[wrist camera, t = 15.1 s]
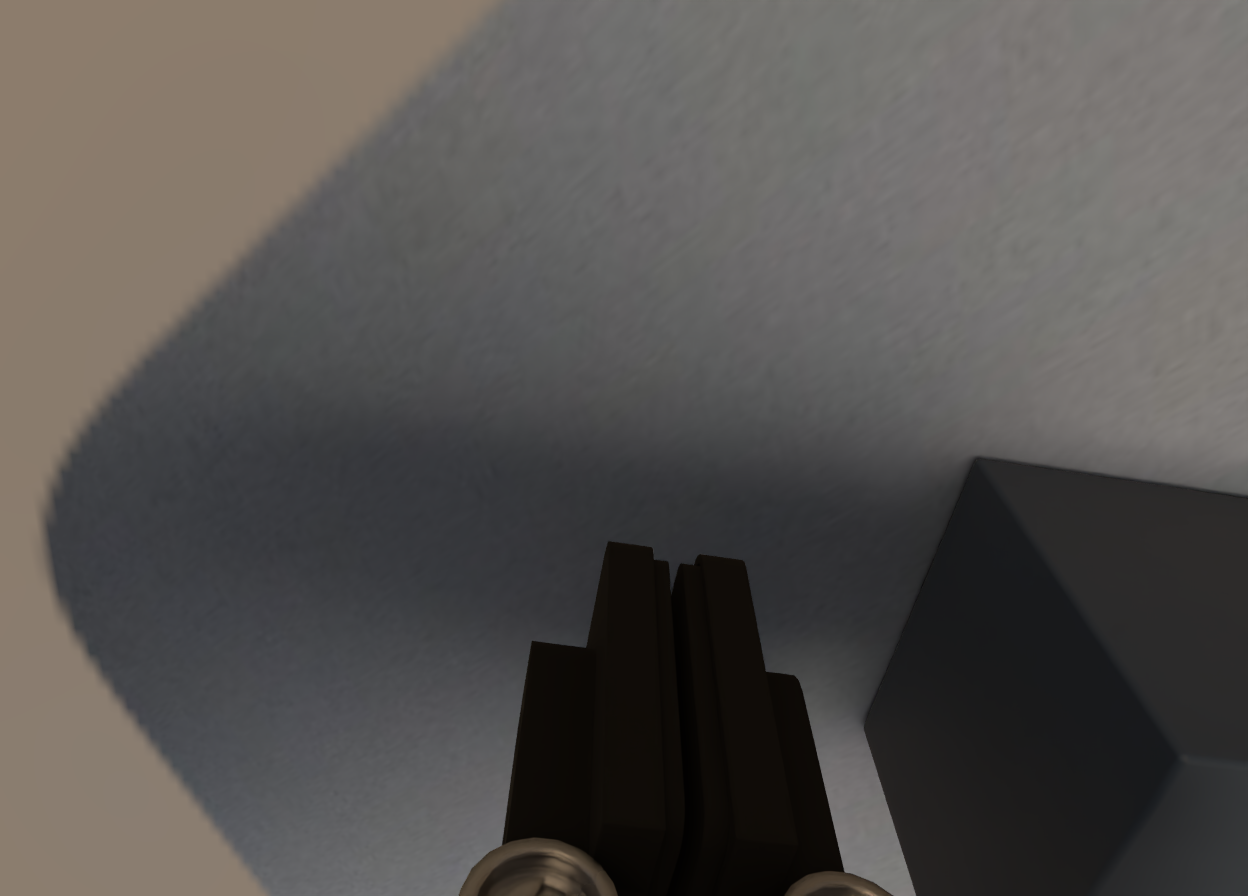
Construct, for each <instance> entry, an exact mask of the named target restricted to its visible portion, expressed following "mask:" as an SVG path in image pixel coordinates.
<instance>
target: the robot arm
mask: <svg viewBox="0 0 1248 896" xmlns="http://www.w3.org/2000/svg"><path fill="white" fill-rule="evenodd" d="M459 896H893V895H891V894H890V893H888V892H887V891H885V890H884V889H883V888H881V887H880V886H878V885H877V884H875V883H874V882H871V881H869V880H866V879H864V878H861V877H859V876H856V875H853V874H851V873H845V872H844V868H843V864H842V860H841V855H840V851H839V847H838V842H837V838H836V834H835V829H834V825H833V821H832V816H831V812H830V808H829V803H828V799H827V795H826V791H825V786H824V782H823V778H822V773H821V769H820V765H819V760H818V756H817V752H816V747H815V743H814V739H813V734H812V730H811V726H810V721H809V717H808V713H807V709H806V704H805V700H804V696H803V691H802V688H801V685H800V682H799V680H798V679H797V678H796V677H795V676H794V675H787V674H780V673H772V672H766V670H765V664H764V659H763V654H762V648H761V643H760V638H759V633H758V627H757V622H756V617H755V611H754V606H753V601H752V595H751V590H750V585H749V580H748V574H747V569H746V565H745V562H744V561H743V560H738V559H731V558H724V557H717V556H710V555H703V554H699V555H698V556H697V558H696V560H695V563H694V565H689V564H682V563H681V564H680V566H679V568H678V571H677V574H676V578H675V582H674V586H673V590H672V594H671V589H670V574H669V563H668V562H667V561H661V560H654V554H653V548H652V547H646V546H639V545H632V544H625V543H618V542H611V541H609V542H608V543H607V547H606V551H605V555H604V560H603V565H602V570H601V575H600V580H599V585H598V590H597V595H596V600H595V605H594V610H593V615H592V620H591V625H590V630H589V635H588V640H587V645H586V648H582V647H575V646H567V645H559V644H552V643H544V642H537V641H532V643H531V648H530V654H529V660H528V667H527V673H526V679H525V685H524V692H523V698H522V705H521V712H520V718H519V725H518V732H517V739H516V746H515V753H514V761H513V768H512V776H511V783H510V790H509V798H508V805H507V813H506V820H505V828H504V835H503V842H502V846H500V847H498V848H496V849H494V850H492V851H490V852H489V853H488V854H487V855H486V856H485V857H483V858H482V859H481V860H480V861H479V862H478V863H477V864H476V865H475V866H474V867H473V868H472V869H471V871H470V873H469V875H468V877H467V879H466V881H465V882H464V884H463V886H462V888H461V890H460V893H459Z"/></svg>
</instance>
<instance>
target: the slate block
mask: <svg viewBox="0 0 1248 896" xmlns="http://www.w3.org/2000/svg"><path fill="white" fill-rule="evenodd" d="M864 731H865V734H866V738H867V741H868V744H869V747H870V750H871V753H872V757H873V760H874V763H875V766H876V769H877V772H878V776H879V779H880V782H881V785H882V788H883V791H884V795H885V798H886V801H887V804H888V807H889V810H890V814H891V817H892V820H893V823H894V826H895V829H896V833H897V836H898V839H899V842H900V845H901V848H902V852H903V855H904V858H905V861H906V864H907V867H908V871H909V874H910V877H911V880H912V883H913V887H914V890H915V893H916V896H1248V499H1247V498H1241V497H1234V496H1227V495H1220V494H1214V493H1207V492H1200V491H1194V490H1187V489H1180V488H1173V487H1167V486H1160V485H1153V484H1147V483H1140V482H1133V481H1127V480H1120V479H1113V478H1106V477H1100V476H1093V475H1086V474H1080V473H1073V472H1066V471H1059V470H1053V469H1046V468H1039V467H1033V466H1026V465H1019V464H1013V463H1006V462H999V461H992V460H986V459H977V460H976V461H975V463H974V466H973V468H972V470H971V473H970V475H969V477H968V480H967V482H966V485H965V487H964V489H963V492H962V494H961V496H960V499H959V501H958V504H957V506H956V508H955V511H954V513H953V515H952V518H951V520H950V523H949V525H948V527H947V530H946V532H945V535H944V537H943V539H942V542H941V544H940V546H939V549H938V551H937V554H936V556H935V558H934V561H933V563H932V565H931V568H930V570H929V573H928V575H927V577H926V580H925V582H924V584H923V587H922V589H921V592H920V594H919V596H918V599H917V601H916V603H915V606H914V608H913V611H912V613H911V615H910V618H909V620H908V622H907V625H906V627H905V630H904V632H903V634H902V637H901V639H900V641H899V644H898V646H897V649H896V651H895V653H894V656H893V658H892V660H891V663H890V665H889V668H888V670H887V672H886V675H885V677H884V679H883V682H882V684H881V687H880V689H879V691H878V694H877V696H876V698H875V701H874V703H873V706H872V708H871V710H870V713H869V715H868V717H867V720H866V722H865V725H864Z"/></svg>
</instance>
